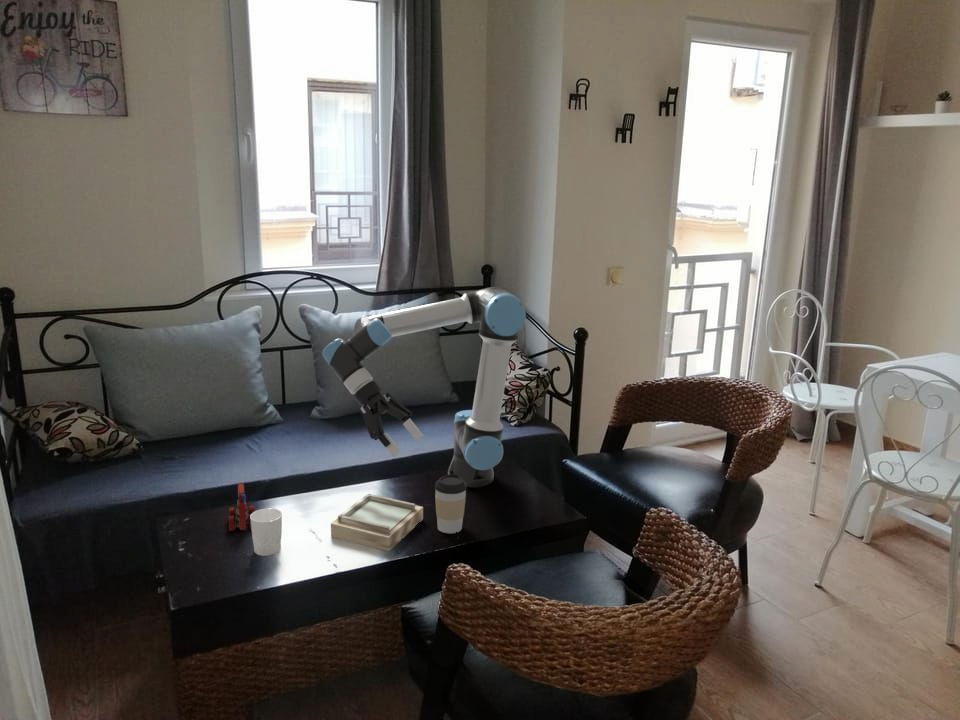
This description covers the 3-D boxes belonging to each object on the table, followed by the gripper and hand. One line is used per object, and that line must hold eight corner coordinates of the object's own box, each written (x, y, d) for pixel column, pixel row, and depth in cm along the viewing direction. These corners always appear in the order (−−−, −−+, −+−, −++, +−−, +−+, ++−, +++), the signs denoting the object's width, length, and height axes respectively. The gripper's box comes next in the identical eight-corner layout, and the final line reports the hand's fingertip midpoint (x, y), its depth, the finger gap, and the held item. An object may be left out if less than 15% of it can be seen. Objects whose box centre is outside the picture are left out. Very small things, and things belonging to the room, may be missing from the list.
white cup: (245, 553, 187) (243, 518, 185) (264, 539, 194) (262, 506, 192) (271, 559, 185) (269, 524, 182) (289, 545, 192) (287, 511, 189)
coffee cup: (461, 537, 199) (463, 487, 196) (430, 533, 201) (430, 483, 197) (468, 522, 208) (470, 474, 204) (438, 518, 210) (439, 470, 206)
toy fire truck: (229, 537, 195) (226, 501, 193) (229, 516, 207) (227, 483, 204) (255, 533, 198) (254, 499, 195) (254, 513, 209) (253, 480, 206)
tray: (368, 507, 215) (368, 490, 214) (422, 519, 209) (423, 502, 207) (331, 536, 197) (330, 518, 196) (388, 551, 191) (388, 532, 189)
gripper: (377, 384, 218) (420, 439, 216) (330, 406, 195) (378, 468, 194) (393, 369, 214) (437, 425, 213) (347, 391, 192) (395, 453, 190)
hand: (409, 446), depth 203 cm, fingers open, 13 cm apart
